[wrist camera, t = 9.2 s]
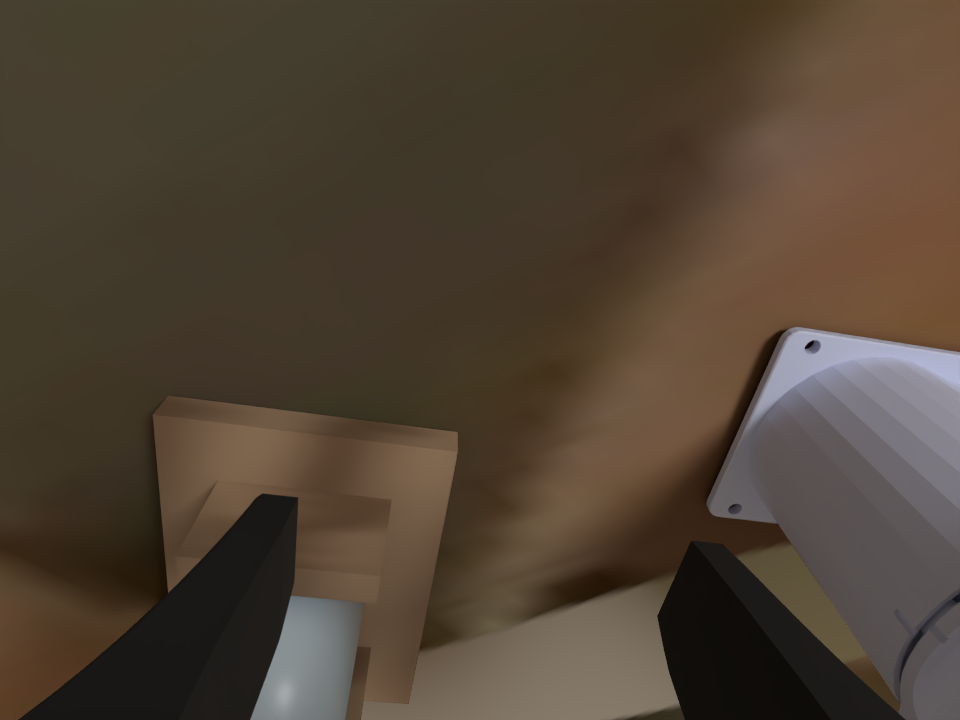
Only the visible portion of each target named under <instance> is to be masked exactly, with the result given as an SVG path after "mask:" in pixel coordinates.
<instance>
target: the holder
mask: <svg viewBox="0 0 960 720" xmlns="http://www.w3.org/2000/svg"><path fill="white" fill-rule="evenodd" d="M153 424H154V435H155V447H156V458H157V470H158V481H159V493H160V504H161V516H162V527H163V538H164V550H165V561H166V573H167V584H168V593H169V592H170V591H171V590H172V589H173V588H174V587H175V586H176V585H177V584H178V583H179V582H180V581H181V580H182V579H183V578H184V577H185V576H186V575H187V574H188V573H189V572H190V571H191V569H192V568H193V567H194V566H195V565H196V564H197V563H198V562H199V561H200V560H201V559H202V558H203V557H204V556H205V555H206V554H207V553H208V552H209V551H210V550H211V549H212V548H213V547H214V545H215V544H216V543H217V542H218V541H219V540H220V539H221V538H222V537H223V536H224V535H225V533H226V532H227V531H228V530H229V529H230V528H231V527H232V526H233V524H234V523H235V522H236V521H237V520H238V519H239V517H240V516H241V515H242V514H243V513H244V512H245V510H246V509H247V508H248V507H249V506H250V504H251V503H252V502H253V501H254V499H255V498H256V497H258V496H259V495H261V494H262V493H263V494H272V495H281V496H290V497H298V517H297V538H296V559H295V580H294V585H293V589H292V593H291V596H300V597H311V598H322V599H333V600H343V601H354V602H365V604H364V610H363V616H362V622H361V628H360V634H359V640H358V646H357V652H356V658H355V664H354V670H353V676H352V682H351V688H350V694H349V700H348V706H347V712H346V718H345V720H361V715H362V708H363V701H375V702H388V703H403V704H409V699H410V694H411V689H412V684H413V679H414V674H415V668H416V664H417V658H418V653H419V648H420V643H421V638H422V633H423V628H424V622H425V617H426V612H427V607H428V602H429V597H430V592H431V587H432V581H433V576H434V571H435V566H436V561H437V556H438V551H439V546H440V540H441V535H442V530H443V525H444V520H445V515H446V510H447V505H448V499H449V494H450V489H451V484H452V479H453V474H454V469H455V463H456V458H457V453H458V432H452V431H445V430H437V429H429V428H421V427H413V426H405V425H397V424H389V423H381V422H374V421H366V420H358V419H350V418H342V417H334V416H326V415H318V414H310V413H303V412H295V411H287V410H279V409H271V408H263V407H255V406H247V405H239V404H232V403H224V402H216V401H208V400H200V399H192V398H184V397H176V396H168V397H167V398H166V399H165V400H164V402H163V403H162V404H161V405H160V406H159V408H158V409H157V410H156V411H155V412H154V414H153Z"/></svg>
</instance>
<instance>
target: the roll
mask: <svg viewBox="0 0 960 720" xmlns="http://www.w3.org/2000/svg"><path fill="white" fill-rule="evenodd" d="M364 604H365V602H354V601H343V600H333V599H322V598H311V597H300V596H291V597H290V601H289V605H288V609H287V613H286V617H285V621H284V625H283V629H282V633H281V636H280V640H279V643H278V646H277V648H276V651H275V654H274V657H273V659H272V662H271V665H270V668H269V670H268V673H267V676H266V679H265V681H264V684H263V687H262V689H261V692H260V695H259V698H258V700H257V703H256V706H255V708H254V711H253V714H252V717H251V719H250V720H345V718H346V712H347V706H348V700H349V694H350V688H351V682H352V676H353V670H354V664H355V658H356V652H357V646H358V640H359V634H360V628H361V622H362V616H363V610H364Z"/></svg>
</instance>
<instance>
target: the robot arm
mask: <svg viewBox="0 0 960 720" xmlns="http://www.w3.org/2000/svg"><path fill="white" fill-rule="evenodd" d="M812 340H814V344H813V345H812V346H811V347H810V348H808V349H805V346H806V345H807V343H808V342H810V341H812ZM733 504H736V505H735V506H733V507H730V506H731V505H733ZM706 505H707V507H708V509H709V511H710V513H711V514H712V515H714V516H717V517H724V518H733V519H742V520H750V521H759V522H767V523H776V524H778V525H779V526H780V528H781V529H782V531H783V532H784V534H785V535H786V537H787V538H788V539H789V541H790V542H791V544H792V545H793V547H794V548H795V550H796V551H797V553H798V554H799V556H800V557H801V559H802V560H803V562H804V563H805V564H806V566H807V567H808V569H809V570H810V572H811V573H812V575H813V576H814V577H815V579H816V581H817V582H818V584H819V585H820V586H821V588H822V590H823V591H824V592H825V594H826V595H827V597H828V598H829V600H830V601H831V603H832V604H833V606H834V607H835V609H836V610H837V612H838V613H839V614H840V616H841V617H842V619H843V620H844V622H845V623H846V625H847V626H848V628H849V629H850V631H851V632H852V634H853V635H854V637H855V638H856V639H857V641H858V642H859V644H860V645H861V647H862V648H863V650H864V651H865V653H866V654H867V656H868V657H869V659H870V660H871V662H872V663H873V665H874V666H875V668H876V669H877V671H878V672H879V673H880V675H881V676H882V678H883V679H884V681H885V682H886V684H887V685H888V687H889V688H890V690H891V691H892V693H893V694H894V696H895V697H896V698H897V700H898V701H899V703H900V704H901V706H900V709H899V712H898V713H897V712H896V711H895V710H894V709H893V708H892V707H891V706H889V705H888V704H887V703H886V702H885V701H884V700H883V699H882V698H881V697H879V696H878V695H877V694H876V693H875V692H874V691H873V690H872V689H871V688H870V687H868V686H867V685H866V684H865V683H864V682H863V681H862V680H861V679H860V678H859V677H857V676H856V675H855V674H854V673H853V672H852V671H851V670H850V669H849V668H848V667H847V666H846V665H845V664H843V663H842V662H841V661H840V660H839V659H838V658H837V657H836V656H835V655H834V654H833V653H832V652H831V651H830V650H829V649H828V648H827V647H826V646H824V645H823V643H821V641H819V640H818V639H817V638H816V637H815V636H814V635H813V634H812V633H811V632H810V631H809V630H808V629H807V628H806V627H805V626H804V625H803V624H802V623H801V622H800V621H799V620H798V619H797V618H796V617H795V616H794V615H793V614H792V613H791V612H790V611H789V610H788V609H787V608H786V607H785V606H784V605H783V604H782V603H781V602H780V601H779V600H778V599H777V598H776V597H775V596H774V595H773V594H772V593H771V592H770V591H769V590H768V589H767V588H766V587H765V586H764V585H763V583H761V581H759V579H758V578H757V577H755V575H754V574H753V573H752V572H751V571H750V570H748V568H746V566H745V565H744V564H743V563H742V562H741V561H739V560H738V559H737V558H736V557H735V556H734V555H733V554H732V553H731V552H730V551H729V550H728V549H727V548H726V547H725V546H724V545H722V544H715V543H706V542H697V541H691V543H690V545H689V547H688V549H687V552H686V554H685V556H684V558H683V560H682V563H681V565H680V567H679V569H678V572H677V574H676V576H675V578H674V581H673V583H672V585H671V587H670V589H669V592H668V594H667V596H666V598H665V600H664V603H663V605H662V607H661V609H660V611H659V614H658V621H659V626H660V632H661V637H662V642H663V647H664V652H665V656H666V660H667V664H668V669H669V673H670V676H671V679H672V682H673V685H674V689H675V691H676V694H677V697H678V700H679V703H680V706H681V709H682V712H683V715H684V718H685V720H960V352H955V351H948V350H942V349H935V348H929V347H923V346H916V345H910V344H903V343H897V342H891V341H884V340H878V339H872V338H865V337H859V336H852V335H846V334H840V333H833V332H827V331H821V330H814V329H808V328H801V327H794V328H791V329H788V330H787V331H786V332H784V333H783V334H782V336H781V337H780V339H779V341H778V343H777V345H776V348H775V350H774V352H773V354H772V357H771V359H770V361H769V363H768V365H767V368H766V370H765V372H764V374H763V377H762V379H761V381H760V383H759V386H758V388H757V390H756V392H755V394H754V397H753V399H752V401H751V403H750V406H749V408H748V410H747V412H746V415H745V417H744V419H743V421H742V423H741V426H740V428H739V430H738V432H737V435H736V437H735V439H734V441H733V444H732V446H731V448H730V450H729V452H728V455H727V457H726V459H725V461H724V464H723V466H722V468H721V470H720V472H719V475H718V477H717V479H716V481H715V484H714V486H713V488H712V490H711V493H710V495H709V497H708V499H707V503H706ZM297 517H298V497H290V496H281V495H272V494H263V493H262V494H261V495H259V496H258V497H256V498H255V499H254V501H253V502H252V503H251V504H250V506H249V507H248V508H247V509H246V510H245V512H244V513H243V514H242V515H241V516H240V517H239V519H238V520H237V521H236V522H235V523H234V524H233V526H232V527H231V528H230V529H229V530H228V531H227V532H226V533H225V535H224V536H223V537H222V538H221V539H220V540H219V541H218V542H217V543H216V544H215V545H214V547H213V548H212V549H211V550H210V551H209V552H208V553H207V554H206V555H205V556H204V557H203V558H202V559H201V560H200V561H199V562H198V563H197V564H196V565H195V566H194V567H193V568H192V569H191V571H190V572H189V573H188V574H187V575H186V576H185V577H184V578H183V579H182V580H181V581H180V582H179V583H178V584H177V585H176V586H175V587H174V588H173V589H172V590H171V591H170V592H169V593H168V594H167V595H166V596H165V597H163V598H162V599H161V600H160V601H159V602H158V603H157V604H156V605H155V606H154V607H153V608H152V609H151V610H149V611H148V612H147V613H146V614H145V615H144V616H143V617H142V618H141V619H140V620H139V621H138V622H137V623H136V624H134V625H133V626H132V627H131V628H130V629H129V630H128V631H127V632H126V633H125V634H124V635H122V636H121V637H120V638H119V639H118V640H117V641H116V642H114V643H113V644H112V645H111V646H110V647H109V648H108V649H106V650H105V651H104V652H103V653H102V654H101V655H99V656H98V657H97V658H96V659H95V660H94V661H92V662H91V663H90V664H89V665H88V666H86V667H85V668H84V669H83V670H81V671H80V672H79V673H78V674H77V675H75V676H74V677H73V678H72V679H70V680H69V681H68V682H67V683H65V684H64V685H63V686H62V687H61V688H59V689H58V690H57V691H56V692H54V693H53V694H52V695H50V696H49V697H48V698H46V699H45V700H44V701H43V702H41V703H40V704H39V705H37V706H36V707H35V708H33V709H32V710H31V711H29V712H28V713H27V714H25V715H24V716H23V717H21V718H20V719H19V720H250V719H251V717H252V714H253V711H254V708H255V706H256V703H257V700H258V698H259V695H260V692H261V689H262V687H263V684H264V681H265V679H266V676H267V673H268V670H269V668H270V665H271V662H272V659H273V657H274V654H275V651H276V648H277V646H278V643H279V640H280V636H281V633H282V629H283V625H284V621H285V617H286V613H287V609H288V605H289V601H290V597H291V593H292V589H293V585H294V580H295V559H296V538H297Z"/></svg>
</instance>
